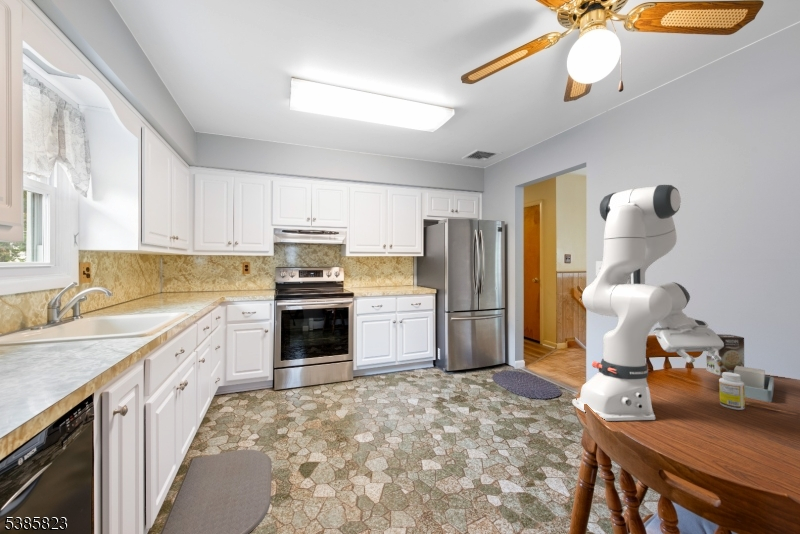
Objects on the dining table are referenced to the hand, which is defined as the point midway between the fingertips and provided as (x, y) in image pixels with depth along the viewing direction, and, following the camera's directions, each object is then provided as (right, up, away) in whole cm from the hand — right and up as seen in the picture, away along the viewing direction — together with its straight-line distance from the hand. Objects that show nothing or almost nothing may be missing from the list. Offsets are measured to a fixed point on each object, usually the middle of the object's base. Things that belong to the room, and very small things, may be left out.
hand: (705, 361), depth 109 cm
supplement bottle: (0, -12, -8) cm, 15 cm away
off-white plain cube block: (+21, -10, +5) cm, 24 cm away
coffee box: (+27, -12, +20) cm, 36 cm away
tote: (+17, -12, +3) cm, 21 cm away
